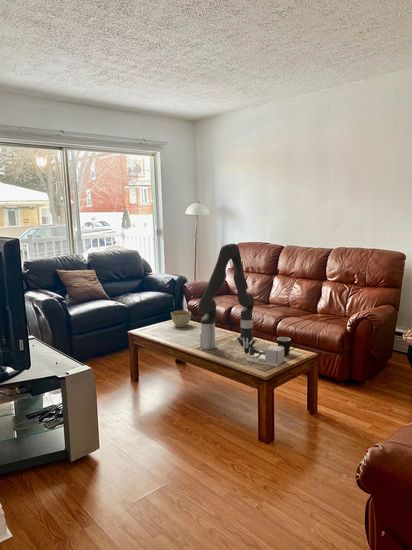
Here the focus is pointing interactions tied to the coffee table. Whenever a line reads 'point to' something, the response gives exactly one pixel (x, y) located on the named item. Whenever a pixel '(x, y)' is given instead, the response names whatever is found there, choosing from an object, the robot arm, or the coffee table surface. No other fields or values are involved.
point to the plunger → (253, 351)
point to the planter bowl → (181, 318)
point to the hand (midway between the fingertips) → (246, 353)
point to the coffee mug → (285, 344)
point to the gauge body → (269, 356)
